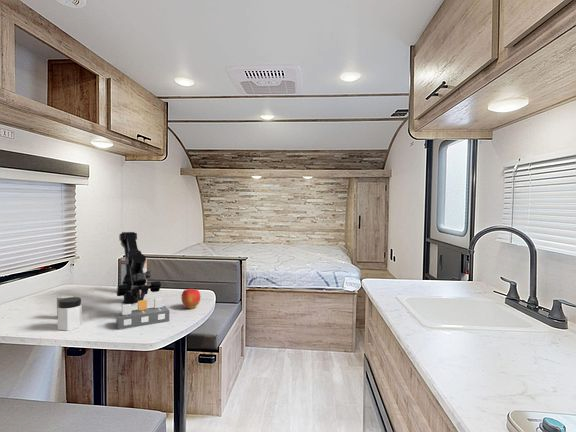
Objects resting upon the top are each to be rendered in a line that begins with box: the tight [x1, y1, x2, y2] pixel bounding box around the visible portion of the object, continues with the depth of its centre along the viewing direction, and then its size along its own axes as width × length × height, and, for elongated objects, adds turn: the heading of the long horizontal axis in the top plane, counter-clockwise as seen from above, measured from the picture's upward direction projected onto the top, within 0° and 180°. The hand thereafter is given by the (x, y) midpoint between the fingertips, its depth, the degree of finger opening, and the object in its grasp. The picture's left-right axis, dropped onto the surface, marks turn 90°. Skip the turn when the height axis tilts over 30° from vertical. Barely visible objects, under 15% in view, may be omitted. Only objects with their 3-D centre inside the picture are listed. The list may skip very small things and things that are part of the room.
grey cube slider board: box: [115, 305, 170, 330], centre depth 155 cm, size 8×21×5 cm, turn 123°
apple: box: [180, 288, 201, 310], centre depth 177 cm, size 10×10×10 cm
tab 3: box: [153, 297, 164, 308], centre depth 160 cm, size 2×4×4 cm, turn 123°
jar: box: [57, 296, 83, 332], centre depth 148 cm, size 9×8×12 cm
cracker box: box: [120, 257, 148, 297], centre depth 202 cm, size 14×6×21 cm, turn 71°
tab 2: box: [137, 299, 148, 310], centre depth 156 cm, size 2×4×4 cm, turn 123°
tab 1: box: [121, 304, 132, 315], centre depth 150 cm, size 2×4×4 cm, turn 123°
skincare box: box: [56, 294, 74, 320], centre depth 159 cm, size 5×4×10 cm
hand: (141, 303), depth 158 cm, fingers closed
